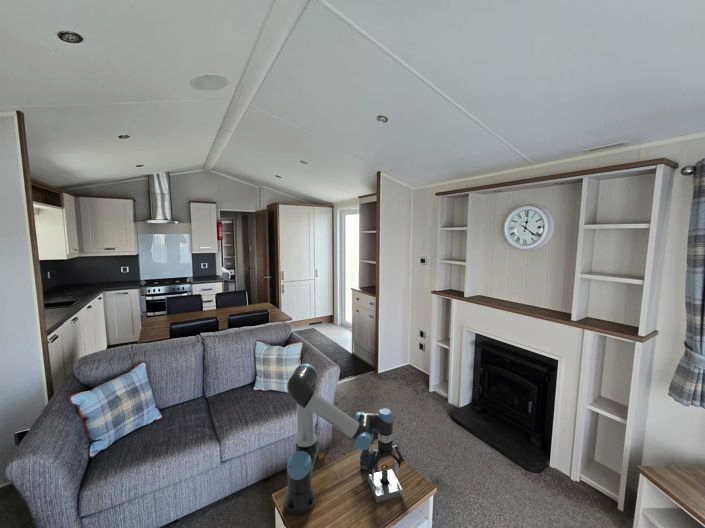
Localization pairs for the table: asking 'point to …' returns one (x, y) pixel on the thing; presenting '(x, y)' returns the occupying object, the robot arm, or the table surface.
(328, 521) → the table surface
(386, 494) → the socket block
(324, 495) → the table surface
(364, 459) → the impact wrench
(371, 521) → the table surface
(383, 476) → the flashlight
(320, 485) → the table surface
